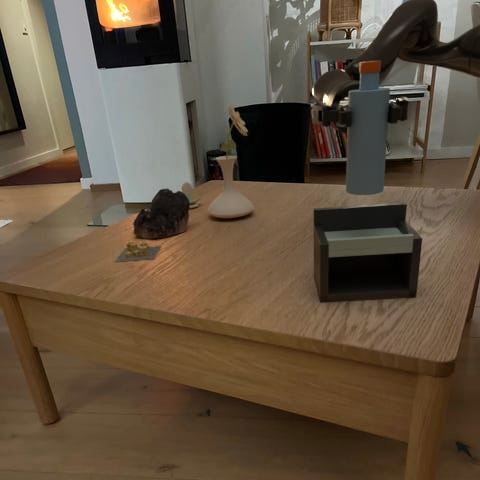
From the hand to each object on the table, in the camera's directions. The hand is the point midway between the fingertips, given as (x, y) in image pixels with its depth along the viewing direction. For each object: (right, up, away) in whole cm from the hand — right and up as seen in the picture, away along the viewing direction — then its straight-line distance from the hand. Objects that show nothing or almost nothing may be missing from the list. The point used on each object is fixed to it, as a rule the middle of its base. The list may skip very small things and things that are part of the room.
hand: (371, 116), depth 61 cm
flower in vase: (-19, 0, +57) cm, 60 cm away
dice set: (-38, -13, +37) cm, 54 cm away
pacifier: (-31, +4, +68) cm, 75 cm away
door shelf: (+2, -21, +14) cm, 25 cm away
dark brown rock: (-35, -5, +50) cm, 61 cm away
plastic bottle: (+1, -8, +7) cm, 10 cm away
